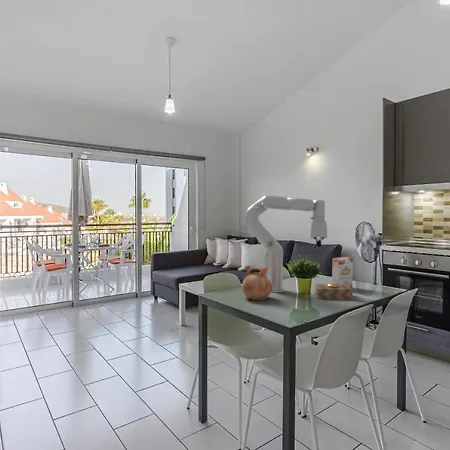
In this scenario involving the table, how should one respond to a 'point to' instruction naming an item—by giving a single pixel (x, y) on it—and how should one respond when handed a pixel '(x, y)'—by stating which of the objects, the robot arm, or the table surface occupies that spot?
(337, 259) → the cracker box
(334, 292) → the brown patterned box
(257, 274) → the jug
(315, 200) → the robot arm
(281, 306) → the table surface
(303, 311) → the table surface
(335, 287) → the knob
